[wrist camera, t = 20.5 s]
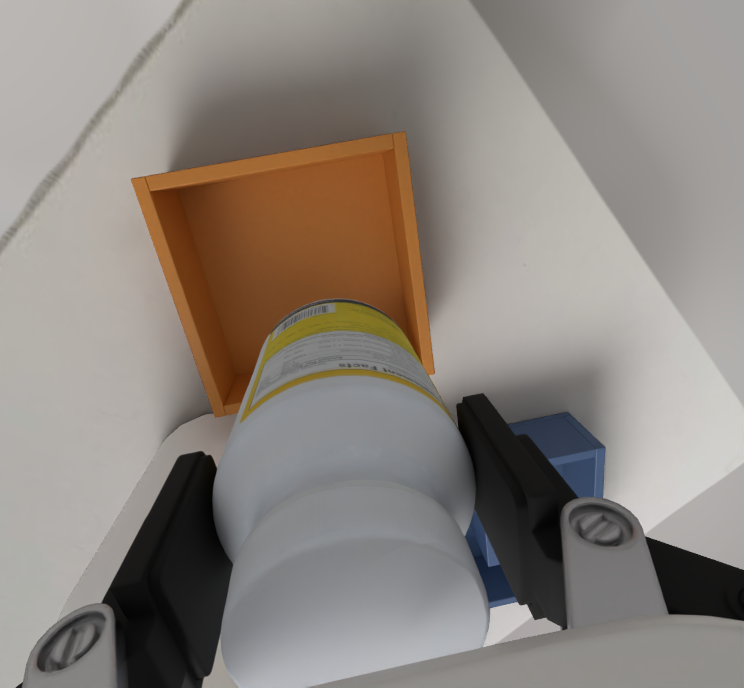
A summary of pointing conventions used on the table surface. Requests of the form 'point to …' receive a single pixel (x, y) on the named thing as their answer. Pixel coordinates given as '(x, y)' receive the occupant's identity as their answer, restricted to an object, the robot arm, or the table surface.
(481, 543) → the blue block
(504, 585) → the blue bin
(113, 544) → the can
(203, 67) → the table surface
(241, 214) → the amber bin
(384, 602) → the pill bottle
